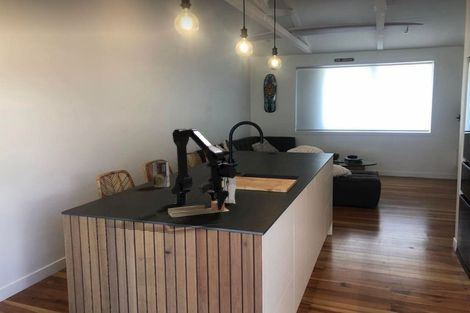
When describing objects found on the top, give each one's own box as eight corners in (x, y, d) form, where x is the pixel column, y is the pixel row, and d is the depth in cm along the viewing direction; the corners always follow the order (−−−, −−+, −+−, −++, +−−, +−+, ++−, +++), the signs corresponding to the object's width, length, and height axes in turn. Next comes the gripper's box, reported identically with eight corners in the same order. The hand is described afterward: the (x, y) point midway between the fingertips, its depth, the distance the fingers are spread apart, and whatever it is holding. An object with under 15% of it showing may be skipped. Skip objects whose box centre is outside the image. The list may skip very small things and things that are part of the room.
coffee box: (169, 185, 256) (169, 161, 254) (167, 187, 250) (166, 162, 248) (156, 185, 257) (155, 161, 255) (153, 187, 251) (152, 162, 249)
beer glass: (233, 205, 202) (232, 177, 200) (220, 204, 204) (220, 176, 202) (237, 202, 208) (237, 174, 206) (226, 201, 211) (225, 174, 209)
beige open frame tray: (168, 214, 185) (167, 208, 184) (223, 208, 196) (223, 202, 195) (172, 219, 177) (172, 213, 177) (229, 212, 188) (229, 206, 187)
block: (211, 209, 191) (211, 201, 191) (220, 207, 193) (220, 200, 192) (214, 211, 186) (214, 203, 186) (224, 210, 188) (224, 202, 188)
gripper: (194, 174, 193) (195, 205, 195) (206, 181, 176) (207, 214, 178) (215, 173, 197) (215, 203, 199) (229, 179, 180) (229, 211, 182)
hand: (216, 208), depth 189 cm, fingers open, 8 cm apart
